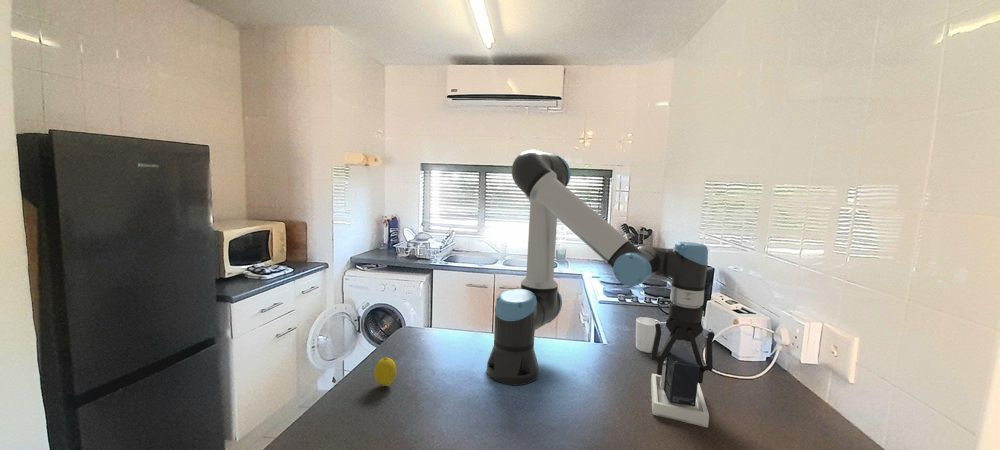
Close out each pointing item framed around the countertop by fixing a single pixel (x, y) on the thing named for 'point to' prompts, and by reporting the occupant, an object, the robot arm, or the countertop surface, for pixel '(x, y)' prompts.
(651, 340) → the white cup
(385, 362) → the lemon
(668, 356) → the small box
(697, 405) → the parts tray
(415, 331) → the countertop surface
